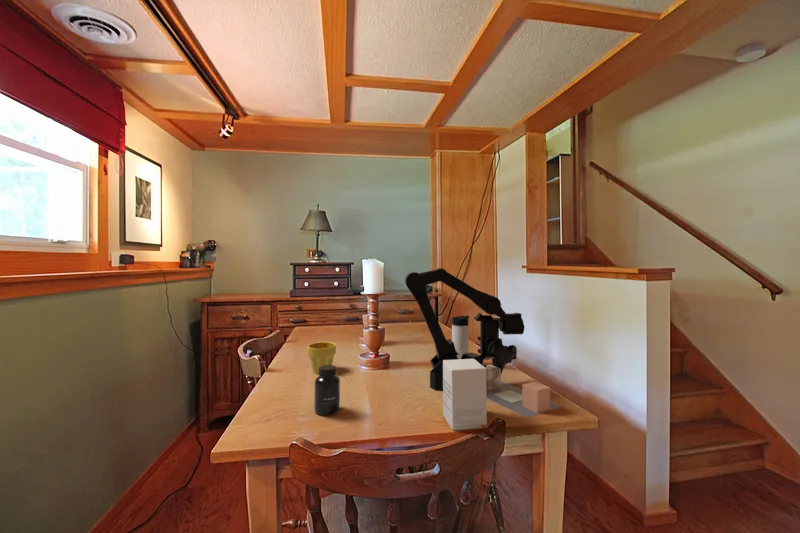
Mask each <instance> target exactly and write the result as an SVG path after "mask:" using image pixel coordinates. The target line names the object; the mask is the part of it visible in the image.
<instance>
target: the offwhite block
mask: <svg viewBox="0 0 800 533" xmlns="http://www.w3.org/2000/svg"><path fill="white" fill-rule="evenodd" d="M485 365H486V366H487V367H486V389H487V390H492V389H497V388H501V381H502V374H501V369H500V368H498V367H495V366H493V364H485Z"/></svg>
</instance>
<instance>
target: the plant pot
mask: <svg viewBox="0 0 800 533" xmlns="http://www.w3.org/2000/svg"><path fill="white" fill-rule="evenodd" d="M336 353H337V344H336V343H334V342H331V341H318V342H313V343H309V344H308V345H307V357H308V356H309V360H310V365H311V369H312V373H314V374H318V372H319V367H320V366H323V365H333V362H334V356H335V355H336Z"/></svg>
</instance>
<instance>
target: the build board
mask: <svg viewBox="0 0 800 533" xmlns="http://www.w3.org/2000/svg"><path fill="white" fill-rule="evenodd" d="M486 399H489V400H490V401H492V402H494V403H497V404H498V405H500V406H502V407H505V408H506V409H508V410H510V411H512V412H514V413H516V414H518V415H520V416H522V417H523V418H526V419H529V418H531V417H535V416H538V415H541V414H544V413H547V412H551V411H554V410H556V409H559V408H563V406H562V405H560V404H557V403H555V402H553V401H550V409H549V410H546V411H543V412H540V413H536V412H534V411H532V410H529V409H527V408H525V407H523V406H522V388H519V387H517V386H514V385H512V384H510V383H507V382H505V381H503V380H501V388H497V389H492V390H487V389H486Z"/></svg>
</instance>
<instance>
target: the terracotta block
mask: <svg viewBox="0 0 800 533" xmlns="http://www.w3.org/2000/svg"><path fill="white" fill-rule="evenodd" d="M521 389H522V406H523V407H525V408H527V409H529V410H532V411H534V412H536V413H540V412H543V411H546V410H549V409H550V402H551V387H550V386H548V385H545V384H543V383H540V382H538V381H531V382H528V383H523V384H522V387H521Z"/></svg>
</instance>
